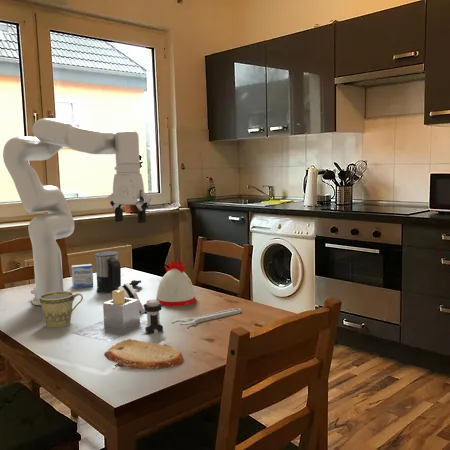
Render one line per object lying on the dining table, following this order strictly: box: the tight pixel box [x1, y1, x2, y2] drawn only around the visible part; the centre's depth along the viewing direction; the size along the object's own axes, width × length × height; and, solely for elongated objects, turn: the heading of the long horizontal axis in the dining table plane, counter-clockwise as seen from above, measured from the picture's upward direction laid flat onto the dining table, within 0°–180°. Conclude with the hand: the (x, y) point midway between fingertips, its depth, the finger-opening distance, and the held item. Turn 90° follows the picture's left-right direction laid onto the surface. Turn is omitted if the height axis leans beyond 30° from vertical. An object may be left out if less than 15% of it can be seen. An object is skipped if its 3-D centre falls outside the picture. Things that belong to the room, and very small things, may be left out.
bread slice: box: [103, 338, 185, 370], centre depth 133 cm, size 18×18×4 cm
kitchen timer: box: [155, 259, 196, 307], centre depth 185 cm, size 14×14×15 cm
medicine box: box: [71, 263, 94, 289], centre depth 210 cm, size 8×4×9 cm, turn 111°
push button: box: [140, 299, 164, 335], centre depth 150 cm, size 7×5×10 cm
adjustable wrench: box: [171, 307, 242, 328], centre depth 164 cm, size 25×6×2 cm, turn 121°
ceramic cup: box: [39, 290, 84, 328], centre depth 160 cm, size 13×10×10 cm
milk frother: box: [94, 251, 142, 294], centre depth 203 cm, size 14×16×15 cm
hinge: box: [118, 282, 147, 314], centre depth 176 cm, size 17×5×10 cm, turn 23°
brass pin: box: [111, 290, 125, 304], centre depth 158 cm, size 4×4×10 cm
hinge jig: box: [71, 298, 147, 342], centre depth 155 cm, size 15×19×8 cm
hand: (130, 221), depth 170 cm, fingers open, 9 cm apart
